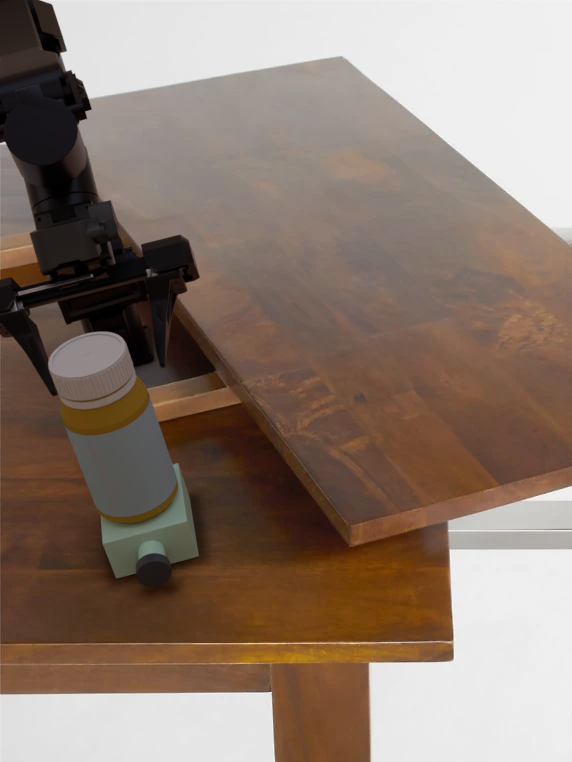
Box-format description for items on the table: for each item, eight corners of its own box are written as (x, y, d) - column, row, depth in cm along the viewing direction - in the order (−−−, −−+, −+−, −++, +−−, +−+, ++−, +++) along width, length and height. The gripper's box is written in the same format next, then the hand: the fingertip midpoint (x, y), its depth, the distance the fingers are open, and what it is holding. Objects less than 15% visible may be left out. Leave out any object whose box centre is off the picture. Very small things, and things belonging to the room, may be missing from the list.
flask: (111, 518, 120) (98, 483, 118) (189, 497, 121) (178, 462, 119) (118, 603, 112) (104, 567, 109) (202, 580, 112) (190, 544, 110)
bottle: (165, 528, 112) (113, 380, 103) (85, 528, 114) (28, 382, 105) (190, 472, 117) (143, 327, 108) (114, 472, 119) (62, 329, 110)
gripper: (-71, 204, 109) (-27, 393, 106) (161, 147, 110) (210, 333, 108) (-34, 242, 120) (7, 415, 117) (177, 190, 121) (221, 359, 119)
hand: (109, 381), depth 115 cm, fingers open, 9 cm apart
